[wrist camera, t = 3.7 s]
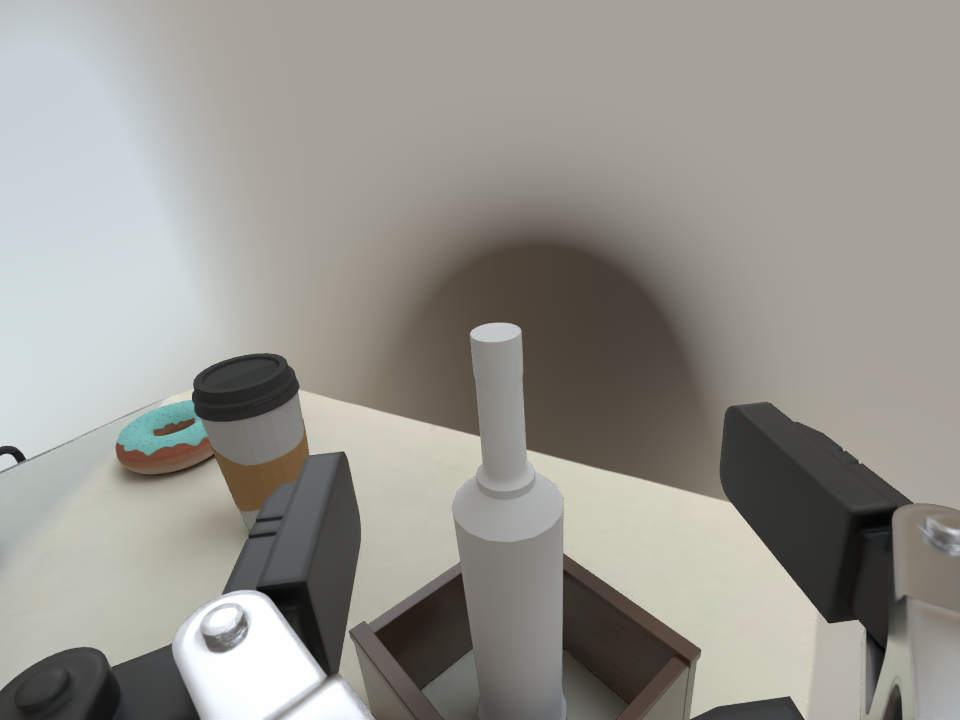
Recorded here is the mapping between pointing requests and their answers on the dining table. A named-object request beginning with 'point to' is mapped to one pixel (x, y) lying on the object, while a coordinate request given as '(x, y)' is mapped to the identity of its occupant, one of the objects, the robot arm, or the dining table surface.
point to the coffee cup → (252, 426)
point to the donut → (164, 440)
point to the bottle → (510, 547)
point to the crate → (585, 634)
